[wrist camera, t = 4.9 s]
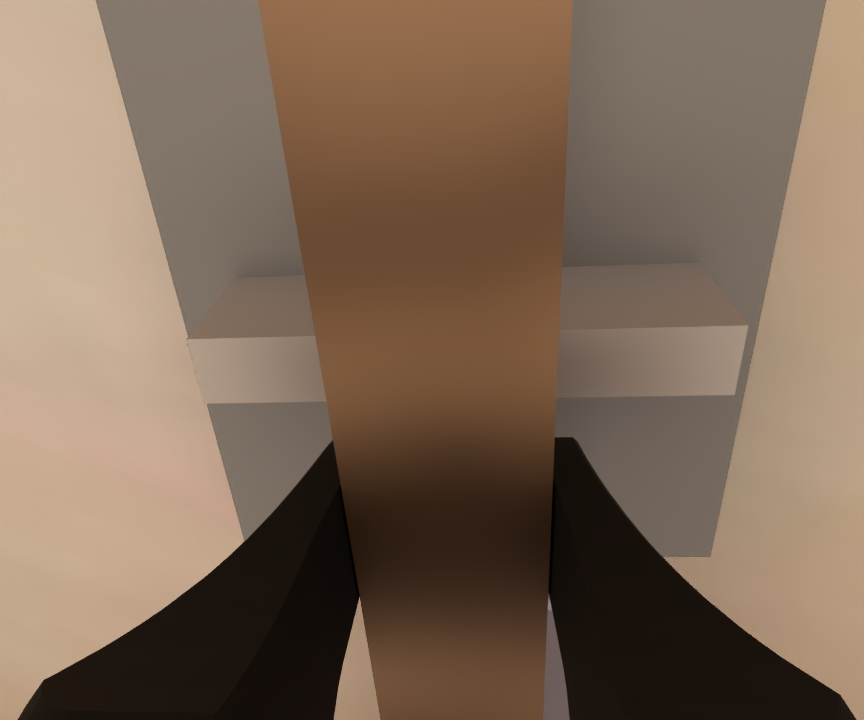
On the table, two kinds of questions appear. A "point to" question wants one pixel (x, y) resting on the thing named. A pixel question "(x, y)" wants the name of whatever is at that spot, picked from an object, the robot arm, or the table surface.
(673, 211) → the fulcrum stand
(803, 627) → the table surface
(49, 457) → the table surface
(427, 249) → the walnut beam
